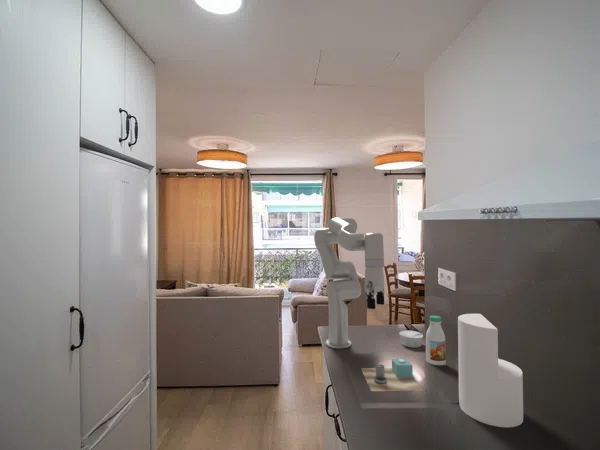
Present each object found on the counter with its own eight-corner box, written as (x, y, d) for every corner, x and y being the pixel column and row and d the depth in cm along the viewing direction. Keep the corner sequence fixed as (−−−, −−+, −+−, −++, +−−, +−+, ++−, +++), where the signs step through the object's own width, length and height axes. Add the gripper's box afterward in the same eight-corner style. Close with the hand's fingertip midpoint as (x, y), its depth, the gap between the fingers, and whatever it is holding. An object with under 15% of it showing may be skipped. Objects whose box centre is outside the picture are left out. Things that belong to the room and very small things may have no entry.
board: (360, 371, 127) (360, 368, 127) (405, 370, 127) (405, 367, 127) (371, 394, 109) (371, 391, 109) (423, 394, 109) (423, 390, 109)
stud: (372, 378, 118) (372, 363, 118) (384, 378, 118) (384, 363, 118) (375, 384, 114) (375, 368, 114) (388, 384, 114) (387, 368, 114)
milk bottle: (423, 364, 133) (422, 316, 133) (430, 358, 139) (429, 313, 139) (442, 369, 128) (441, 320, 128) (448, 363, 134) (447, 316, 134)
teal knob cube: (391, 370, 125) (391, 357, 125) (407, 370, 125) (406, 357, 125) (396, 377, 119) (396, 363, 119) (412, 377, 119) (412, 363, 119)
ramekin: (424, 350, 149) (424, 338, 149) (399, 347, 153) (399, 336, 153) (422, 341, 160) (422, 331, 160) (399, 339, 163) (399, 329, 163)
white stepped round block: (466, 422, 93) (464, 327, 94) (454, 392, 110) (453, 312, 110) (533, 431, 89) (532, 331, 89) (510, 399, 105) (509, 315, 106)
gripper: (373, 262, 137) (375, 302, 136) (356, 264, 122) (358, 309, 122) (390, 262, 132) (392, 303, 131) (375, 265, 118) (376, 311, 117)
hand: (376, 306), depth 126 cm, fingers open, 9 cm apart
